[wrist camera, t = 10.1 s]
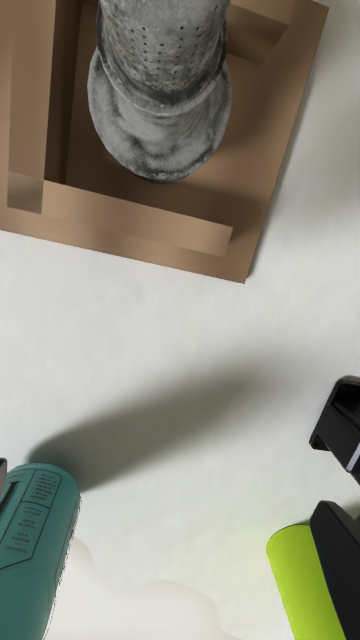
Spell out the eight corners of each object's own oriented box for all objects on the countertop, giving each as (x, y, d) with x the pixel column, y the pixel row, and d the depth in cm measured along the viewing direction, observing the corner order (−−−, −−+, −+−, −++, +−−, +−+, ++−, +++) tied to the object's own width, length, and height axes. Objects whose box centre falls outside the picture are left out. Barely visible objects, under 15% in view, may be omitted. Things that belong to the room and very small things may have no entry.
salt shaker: (205, 197, 16) (326, 124, 4) (101, 181, 15) (-67, 46, 4) (224, 72, 14) (507, -583, 3) (106, 47, 13) (-185, -969, 2)
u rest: (320, 19, 14) (374, -51, 11) (241, 281, 18) (260, 295, 15) (-12, -109, 12) (-85, -252, 8) (-15, 224, 16) (-64, 224, 13)
